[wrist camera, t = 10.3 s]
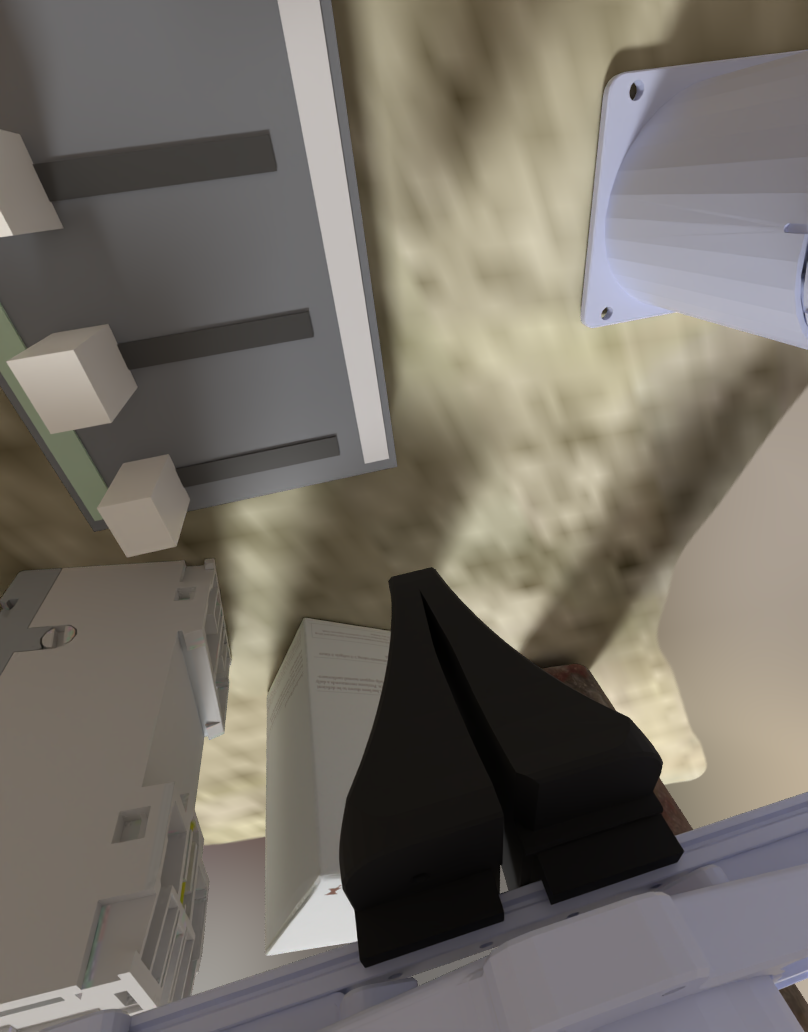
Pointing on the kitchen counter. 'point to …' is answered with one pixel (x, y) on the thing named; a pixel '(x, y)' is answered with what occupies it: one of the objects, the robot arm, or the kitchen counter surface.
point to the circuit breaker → (105, 785)
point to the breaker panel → (184, 256)
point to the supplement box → (316, 777)
